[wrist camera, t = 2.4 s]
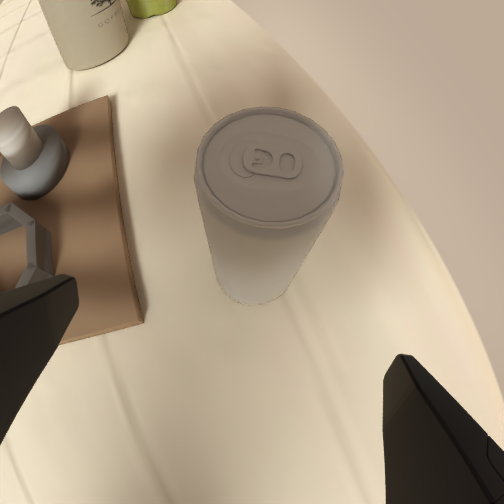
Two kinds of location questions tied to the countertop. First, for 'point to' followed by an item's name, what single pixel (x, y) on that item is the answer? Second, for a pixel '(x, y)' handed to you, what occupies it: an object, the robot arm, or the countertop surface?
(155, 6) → the plant pot
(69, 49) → the travel mug
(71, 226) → the pin board
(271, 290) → the beverage can
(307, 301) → the countertop surface
